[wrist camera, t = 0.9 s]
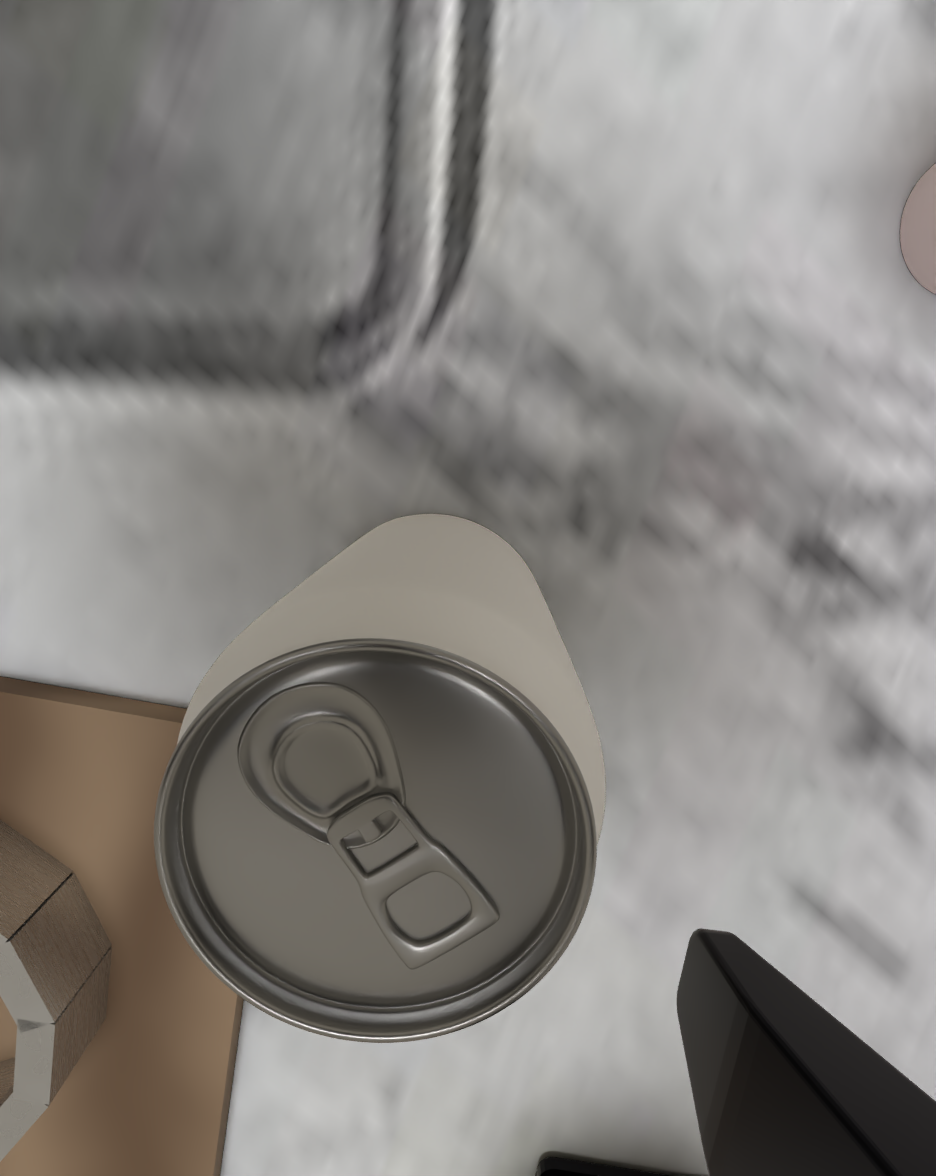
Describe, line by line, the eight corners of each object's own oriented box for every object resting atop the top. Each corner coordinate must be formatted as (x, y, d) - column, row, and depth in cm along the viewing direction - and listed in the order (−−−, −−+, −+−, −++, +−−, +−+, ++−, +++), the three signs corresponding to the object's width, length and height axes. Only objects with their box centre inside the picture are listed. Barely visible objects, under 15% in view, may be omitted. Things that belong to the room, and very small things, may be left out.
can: (463, 466, 20) (442, 496, 8) (586, 651, 21) (728, 921, 9) (278, 591, 20) (10, 787, 9) (405, 764, 22) (318, 1148, 10)
